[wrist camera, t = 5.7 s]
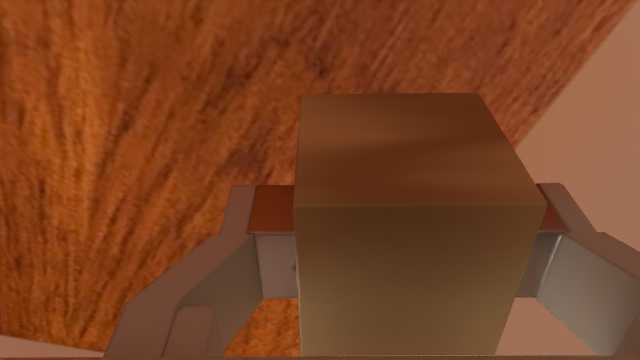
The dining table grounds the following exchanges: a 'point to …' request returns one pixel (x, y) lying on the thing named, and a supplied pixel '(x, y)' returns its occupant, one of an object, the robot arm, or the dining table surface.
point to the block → (408, 224)
